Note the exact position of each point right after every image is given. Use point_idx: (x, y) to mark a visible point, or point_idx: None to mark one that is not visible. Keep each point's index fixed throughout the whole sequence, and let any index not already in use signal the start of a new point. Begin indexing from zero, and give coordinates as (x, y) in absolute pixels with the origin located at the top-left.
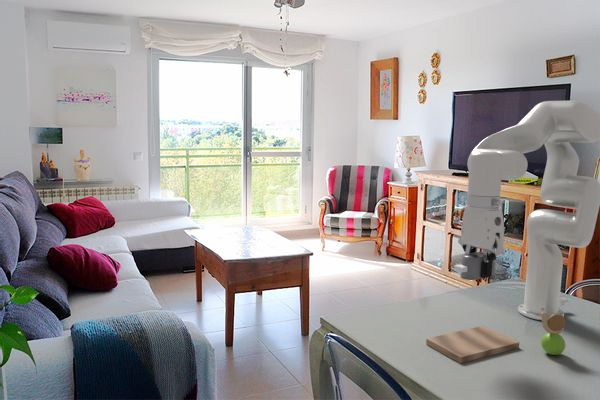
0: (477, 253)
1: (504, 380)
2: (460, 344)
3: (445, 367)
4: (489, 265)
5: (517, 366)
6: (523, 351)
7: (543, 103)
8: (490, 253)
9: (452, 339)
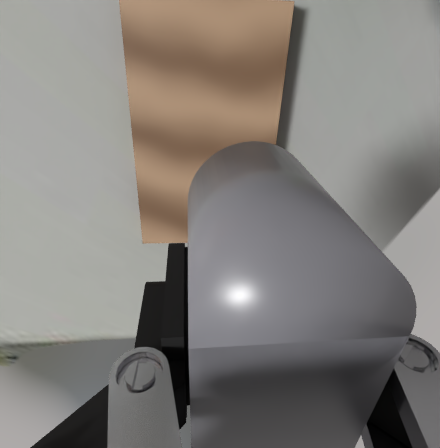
0: (236, 422)
1: (361, 209)
2: None
3: None
4: None
5: (349, 128)
6: (312, 17)
7: None
8: (424, 431)
9: (175, 189)
